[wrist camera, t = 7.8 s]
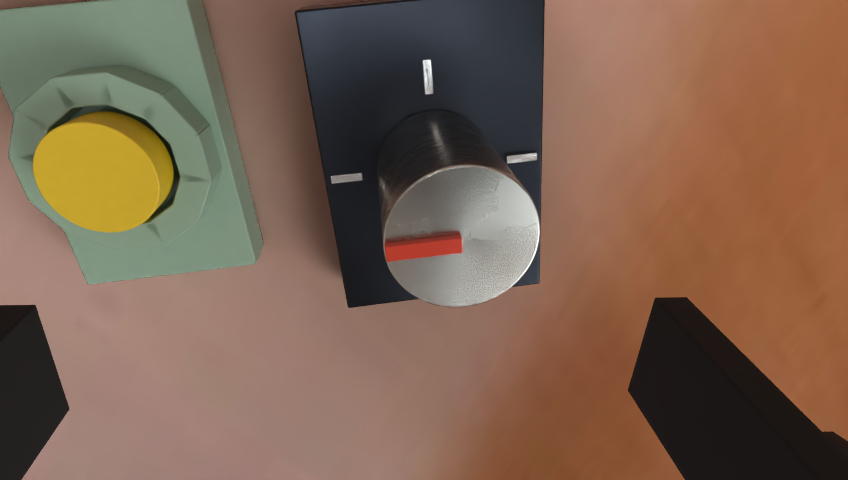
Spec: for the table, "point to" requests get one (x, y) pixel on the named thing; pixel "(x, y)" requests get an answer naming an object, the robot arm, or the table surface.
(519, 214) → the dial
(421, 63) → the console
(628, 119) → the table surface
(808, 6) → the table surface
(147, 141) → the button
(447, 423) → the table surface
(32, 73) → the button box
